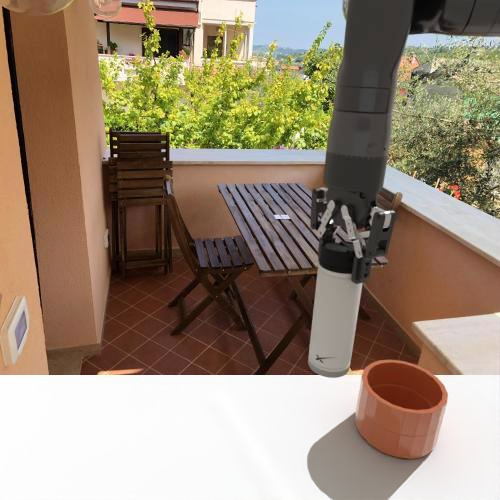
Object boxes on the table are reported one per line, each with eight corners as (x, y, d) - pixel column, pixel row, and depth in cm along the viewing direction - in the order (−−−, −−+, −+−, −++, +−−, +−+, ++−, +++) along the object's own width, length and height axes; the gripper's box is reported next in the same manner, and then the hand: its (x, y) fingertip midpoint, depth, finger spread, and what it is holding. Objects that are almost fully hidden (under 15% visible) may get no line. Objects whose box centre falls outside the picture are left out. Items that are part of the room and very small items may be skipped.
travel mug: (318, 383, 61) (334, 252, 54) (301, 356, 67) (313, 235, 60) (358, 377, 62) (378, 249, 55) (337, 351, 68) (353, 233, 61)
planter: (394, 393, 79) (402, 352, 75) (453, 443, 68) (466, 397, 65) (339, 414, 73) (345, 371, 70) (394, 472, 62) (405, 424, 59)
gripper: (424, 157, 49) (399, 288, 55) (343, 141, 60) (330, 250, 67) (375, 160, 45) (354, 299, 51) (299, 142, 57) (290, 257, 63)
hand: (341, 271), depth 59 cm, fingers closed on travel mug, 6 cm apart
